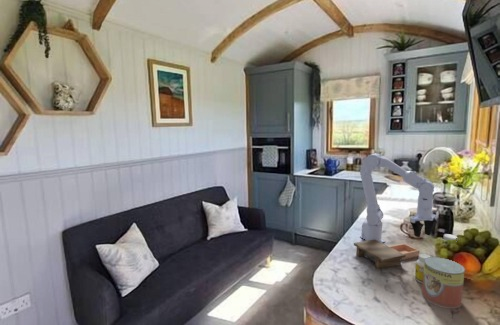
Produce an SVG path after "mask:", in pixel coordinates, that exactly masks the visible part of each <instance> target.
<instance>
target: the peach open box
mask: <svg viewBox="0 0 500 325" xmlns="http://www.w3.org/2000/svg"><path fill="white" fill-rule="evenodd" d="M388 246H389V247H391V248H393V249H395V250H397V251H399V252H401V253H403V254H405V257H404V258H401V261H405V260H409V259H414V258H419V254H420V253H421V252H420V249H417V248H415V247H413V246H411V245H409V244H407V243H399V244H394V245H388Z"/></svg>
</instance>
